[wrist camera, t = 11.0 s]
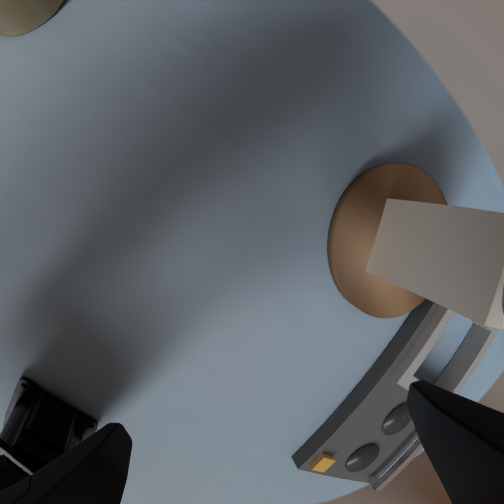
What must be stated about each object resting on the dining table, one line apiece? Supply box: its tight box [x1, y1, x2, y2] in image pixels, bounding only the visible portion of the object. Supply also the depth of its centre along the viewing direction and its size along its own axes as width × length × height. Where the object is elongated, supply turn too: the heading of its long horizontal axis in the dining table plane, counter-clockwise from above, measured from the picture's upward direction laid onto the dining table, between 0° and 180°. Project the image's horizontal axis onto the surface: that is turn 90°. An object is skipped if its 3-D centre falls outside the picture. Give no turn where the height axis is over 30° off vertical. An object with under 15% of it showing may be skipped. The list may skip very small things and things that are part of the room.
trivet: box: [327, 164, 447, 318], centre depth 21 cm, size 11×11×1 cm
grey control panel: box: [292, 299, 498, 483], centre depth 25 cm, size 21×12×3 cm, turn 142°
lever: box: [368, 438, 423, 491], centre depth 25 cm, size 10×2×4 cm, turn 142°
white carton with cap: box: [365, 199, 504, 330], centre depth 15 cm, size 5×5×13 cm
